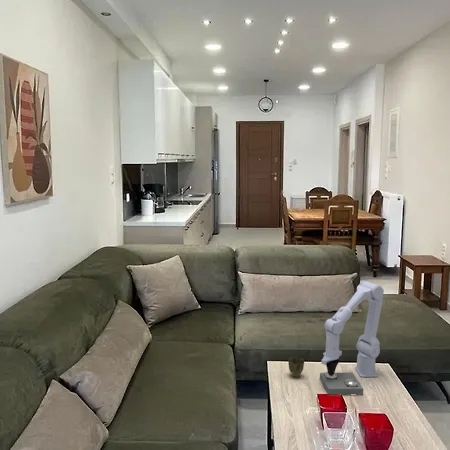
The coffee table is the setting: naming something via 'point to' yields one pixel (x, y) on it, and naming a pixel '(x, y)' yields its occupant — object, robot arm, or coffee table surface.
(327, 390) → the knob board
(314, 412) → the coffee table surface
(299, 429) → the coffee table surface
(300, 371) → the cup
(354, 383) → the knob
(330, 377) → the knob
